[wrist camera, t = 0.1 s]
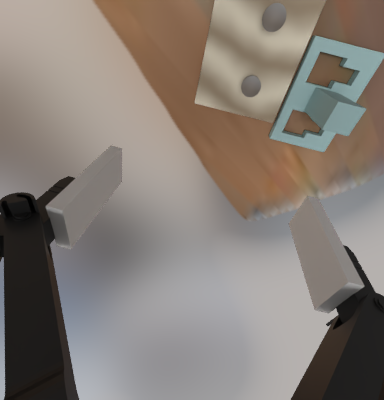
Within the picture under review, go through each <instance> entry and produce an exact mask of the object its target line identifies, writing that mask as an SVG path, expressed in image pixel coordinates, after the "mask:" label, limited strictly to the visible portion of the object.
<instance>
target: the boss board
mask: <svg viewBox="0 0 384 400" xmlns="http://www.w3.org/2000/svg"><path fill="white" fill-rule="evenodd" d="M325 2H326V0H215V2H214V7H213V12H212V17H211V22H210V27H209V32H208V37H207V43H206V48H205V53H204V58H203V63H202V68H201V73H200V78H199V83H198V88H197V93H196V98H195V103H196V104H200V105H203V106H207V107H211V108H215V109H219V110H223V111H227V112H231V113H235V114H239V115H242V116H246V117H250V118H254V119H258V120H262V121H266V122H270V123H273V122H274V119H275V117H276V115H277V112H278V110H279V108H280V106H281V103H282V101H283V99H284V96H285V94H286V92H287V89H288V87H289V85H290V83H291V80H292V78H293V76H294V73H295V71H296V69H297V66H298V64H299V62H300V60H301V57H302V55H303V53H304V50H305V48H306V46H307V43H308V41H309V39H310V37H311V34H312V32H313V30H314V27H315V25H316V23H317V21H318V18H319V16H320V14H321V11H322V9H323V7H324V4H325Z"/></svg>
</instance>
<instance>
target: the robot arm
mask: <svg viewBox="0 0 384 400" xmlns="http://www.w3.org/2000/svg"><path fill="white" fill-rule="evenodd" d="M121 182H122V148H118V147H114V146H110V147H109V148H108V149H107V150H106V151H105V152H104V153H102V154H101V155H100V156H99V157H98V158H97V159H96V160H95V161H94V162H93V163H92V164H91V165H89V166H88V167H87V168H86V169H85V170H84V171H83V172H82V173H81V174H80V175H79V176H78V177H77V178H73V177H69V176H68V177H66V178H64V179H61V180H59V181H58V182H57V183H56V184H55V185H54V186H53V187H51V188H50V189H49V190H48V191H46V192H45V193H44V194H43V195H42V196H41V197H39V198H38V199H37V200H35V198H34V196H33V195H31V194H29V193H14V194H9V195H7V196H5V197H3V198H2V199H1V200H0V213H1V214H0V261H1V259H2V257H4V298H5V299H4V305H5V306H4V307H5V398H4V400H79V398H78V394H77V390H76V385H75V381H74V374H73V369H72V363H71V358H70V352H69V347H68V341H67V335H66V330H65V324H64V319H63V314H62V308H61V303H60V297H59V291H58V286H57V280H56V275H55V269H54V264H53V258H52V252H51V248H50V243H51V242H52V241H53V240H54V239H55V241H56V245H57V246H60V247H64V248H68V249H72V248H73V246H74V245H75V243H76V242H77V241H78V239H79V238H80V237H81V236H82V234H83V233H84V232H85V230H86V229H87V227H88V226H89V225H90V223H91V222H92V221H93V219H94V218H95V217H96V215H97V214H98V213H99V211H100V210H101V208H102V207H103V206H104V204H105V203H106V202H107V201H108V199H109V198H110V196H111V195H112V194H113V192H114V191H115V190H116V188H117V187H118V186H119V184H120V183H121ZM289 226H290V230H291V233H292V236H293V240H294V243H295V246H296V250H297V253H298V256H299V260H300V263H301V266H302V269H303V273H304V276H305V279H306V283H307V286H308V289H309V293H310V296H311V299H312V302H313V306H314V309H315V310H317V311H321V312H325V313H330V312H331V311H333V310H334V309H335V308H336V309H337V312H338V314H339V315H338V316H336V317H335V318H334V319H332V320H331V321H330V322H328V323H327V324H326V325H327V326H329V325H330V324H331V326H330V328H329V330H328V331H327V333H326V335H325V337H324V339H323V341H322V342H321V344H320V346H319V348H318V350H317V352H316V354H315V355H314V357H313V359H312V361H311V363H310V365H309V367H308V369H307V370H306V372H305V374H304V376H303V378H302V380H301V381H300V383H299V385H298V387H297V389H296V391H295V393H294V394H293V397H292V398H291V400H384V296H382V295H380V294H378V293H376V292H375V291H374V289H373V287H372V285H371V283H370V282H369V280H368V278H367V276H366V274H365V273H364V271H363V270H362V267H361V265H360V264H359V263H358V260H357V258H356V257H355V255H354V253H353V252H352V251H351V250H350V249H349V248H348V247H347V246H344V245H343V244H342V242H341V241H340V239H339V237H338V235H337V233H336V231H335V229H334V227H333V225H332V223H331V222H330V220H329V218H328V216H327V214H326V212H325V210H324V208H323V207H322V205H321V203H320V201H319V199H318V198H314V197H310V196H307V197H306V199H305V200H304V202H303V203H302V205H301V206H300V208H299V209H298V211H297V212H296V214H295V215H294V217H293V218H292V220H291V221H290V223H289Z"/></svg>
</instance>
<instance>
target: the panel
mask: <svg viewBox="0 0 384 400" xmlns="http://www.w3.org/2000/svg"><path fill="white" fill-rule="evenodd" d="M320 52H324V53H328V54H331V55H335V56H339V57H343V59H342V61H341V63H340V66H343V67H347V68H351V69H354V70H355V71H354V73H353V75H352V76H351V78H350V80H349V81H348V83H347V84H344V83H340V82H336V81H333V80H331V82H330V84H329V85H328V87H325V86H321V85H317V84H313V83H310V82H306V81H307V79H308V76H309V74H310V72H311V70H312V68H313V66H314V64H315V62H316V60H317V57H318V55H319V53H320ZM383 59H384V53H380V52H377V51H373V50H369V49H365V48H361V47H357V46H354V45H350V44H346V43H342V42H338V41H334V40H331V39H327V38H323V37H319V36H312V38H311V41H310V43H309V45H308V47H307V50H306V52H305V54H304V56H303V59H302V61H301V63H300V66H299V68H298V70H297V72H296V75H295V77H294V79H293V82H292V84H291V86H290V88H289V91H288V93H287V95H286V97H285V100H284V102H283V104H282V107H281V109H280V111H279V113H278V116H277V118H276V120H275V123H274V125H273V127H272V129H271V132H270V134H269V137H270V139H274V140H278V141H281V142H285V143H289V144H293V145H297V146H301V147H305V148H309V149H313V150H317V151H321V152H324V151H325V150H326V148H327V147H328V145H329V144H330V142H331V140H332V139H333V137H334V136H335V134H336V133H338V134H341V135H345V136H348V135H349V134H350V132H351V131H352V129H353V128H354V127H355V125H356V124H357V122H358V121H359V119H360V118H361V116H362V115H363V113H364V112H365V110H366V108H364V107H362V106H361V105H359V104H357V103H356V101H357V99H358V98H359V96H360V95H361V93H362V92H363V90H364V88H365V87H366V85H367V84H368V82H369V81H370V79H371V77H372V76H373V74H374V73H375V71H376V70H377V68H378V66H379V65H380V63H381V62H382V60H383ZM293 109H294V110H298V111H301V112H305V113H307V114H308V115H309V116H310V117H311V120H312V121H314V122H315V123H316V124H317V125H318V126H319V127H320V128H321V129H320V131H319V133H315V132H311V131H307V130H304V132H303V134H302V135H299V134H295V133H291V132H288V131H284V130H283V129H284V127H285V125H286V123H287V121H288V119H289V116H290V114H291V112H292V110H293Z"/></svg>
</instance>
